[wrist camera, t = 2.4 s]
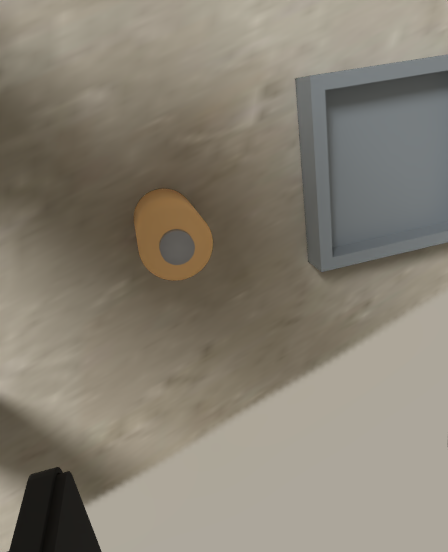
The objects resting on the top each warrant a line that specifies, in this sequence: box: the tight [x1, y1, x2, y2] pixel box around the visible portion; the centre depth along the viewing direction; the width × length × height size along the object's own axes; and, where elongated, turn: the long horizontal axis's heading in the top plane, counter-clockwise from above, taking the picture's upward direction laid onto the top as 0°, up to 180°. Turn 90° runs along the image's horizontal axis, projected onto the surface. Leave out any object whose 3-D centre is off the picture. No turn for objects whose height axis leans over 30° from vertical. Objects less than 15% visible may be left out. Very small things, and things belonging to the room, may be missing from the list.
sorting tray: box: [295, 55, 448, 272], centre depth 32 cm, size 14×14×2 cm
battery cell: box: [134, 189, 213, 281], centre depth 28 cm, size 4×4×8 cm
